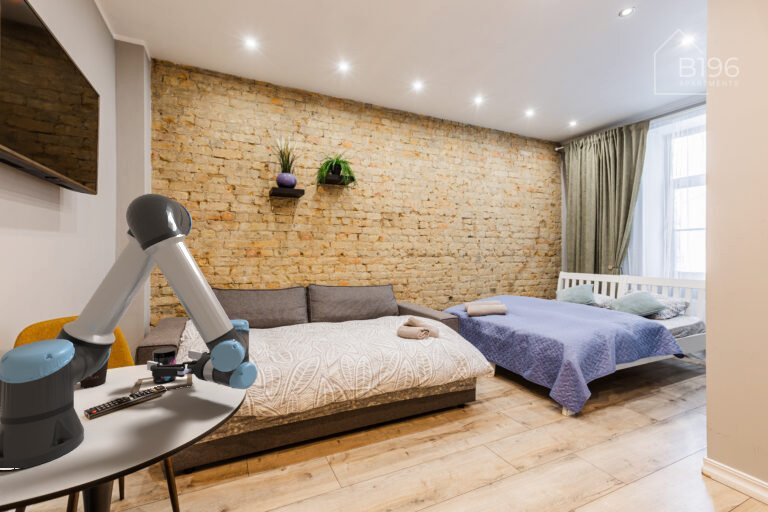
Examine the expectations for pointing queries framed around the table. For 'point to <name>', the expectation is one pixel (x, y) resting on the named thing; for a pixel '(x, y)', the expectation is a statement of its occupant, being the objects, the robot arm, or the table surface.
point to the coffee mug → (95, 378)
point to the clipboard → (177, 383)
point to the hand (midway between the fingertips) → (169, 359)
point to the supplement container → (164, 362)
